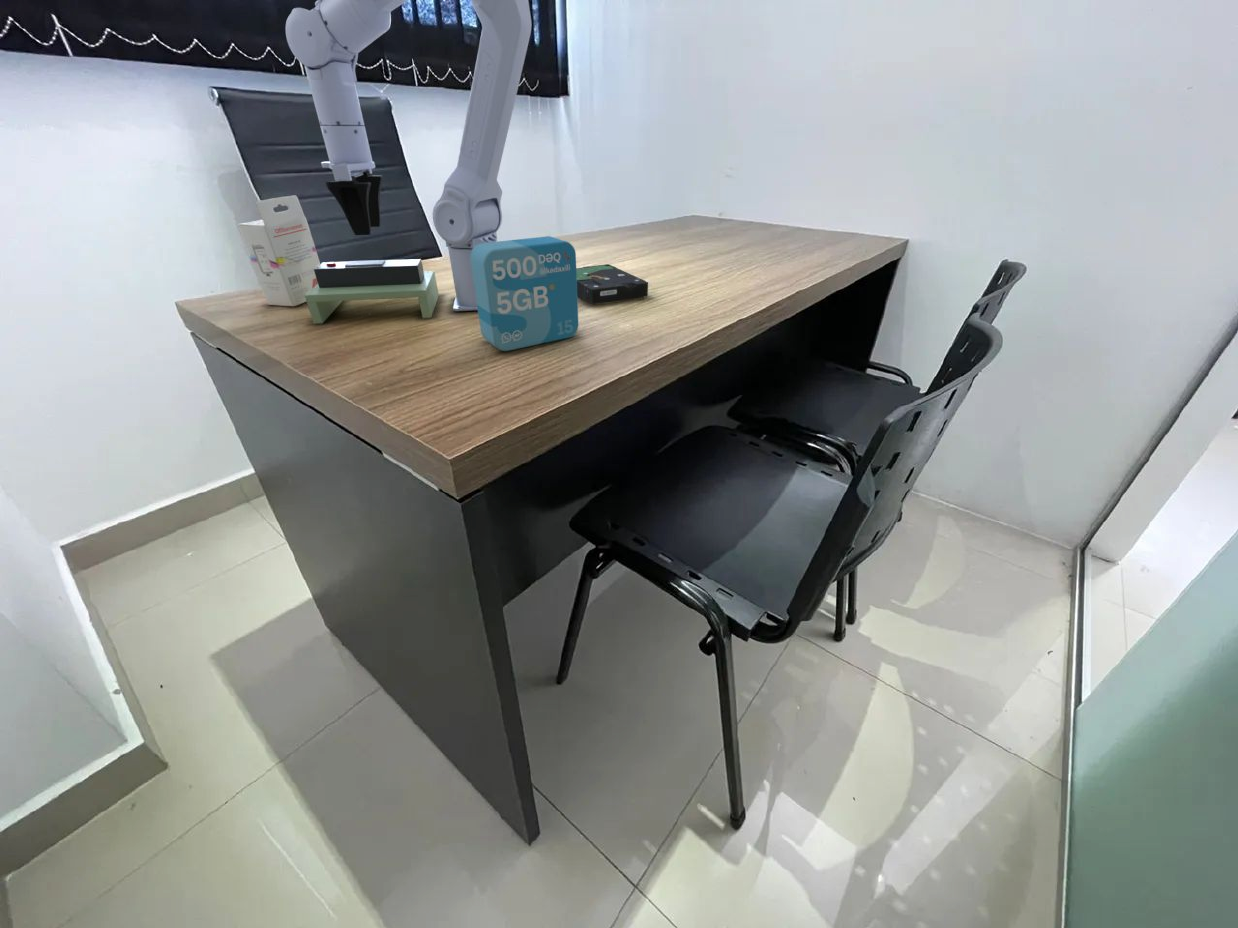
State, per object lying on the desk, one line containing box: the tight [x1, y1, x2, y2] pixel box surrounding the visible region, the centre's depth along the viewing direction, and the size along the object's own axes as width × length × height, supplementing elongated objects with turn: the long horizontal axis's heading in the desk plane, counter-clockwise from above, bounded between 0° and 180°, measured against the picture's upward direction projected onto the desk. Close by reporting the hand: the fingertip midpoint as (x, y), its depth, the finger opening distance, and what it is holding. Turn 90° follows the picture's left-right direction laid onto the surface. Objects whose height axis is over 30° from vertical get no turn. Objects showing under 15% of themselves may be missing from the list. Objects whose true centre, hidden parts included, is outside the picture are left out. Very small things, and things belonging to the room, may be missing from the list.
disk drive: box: [576, 263, 649, 305], centre depth 87 cm, size 10×3×15 cm
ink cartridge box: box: [236, 194, 321, 307], centre depth 79 cm, size 9×5×15 cm, turn 168°
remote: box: [314, 258, 425, 288], centre depth 76 cm, size 14×4×3 cm, turn 101°
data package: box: [470, 235, 579, 352], centre depth 64 cm, size 12×4×12 cm, turn 124°
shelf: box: [305, 270, 440, 325], centre depth 77 cm, size 16×12×4 cm
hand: (368, 230), depth 80 cm, fingers open, 7 cm apart
